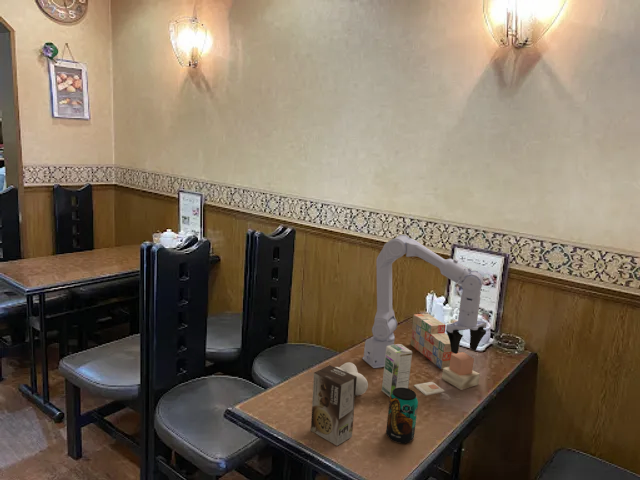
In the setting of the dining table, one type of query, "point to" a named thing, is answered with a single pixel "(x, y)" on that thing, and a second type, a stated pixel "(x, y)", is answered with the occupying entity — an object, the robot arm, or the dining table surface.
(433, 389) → the card
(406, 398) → the beverage can
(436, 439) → the dining table surface
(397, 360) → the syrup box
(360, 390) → the white lobed shape
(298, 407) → the dining table surface
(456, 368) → the terracotta cube
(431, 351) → the stack of blocks
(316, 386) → the coffee box
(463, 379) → the ash block
